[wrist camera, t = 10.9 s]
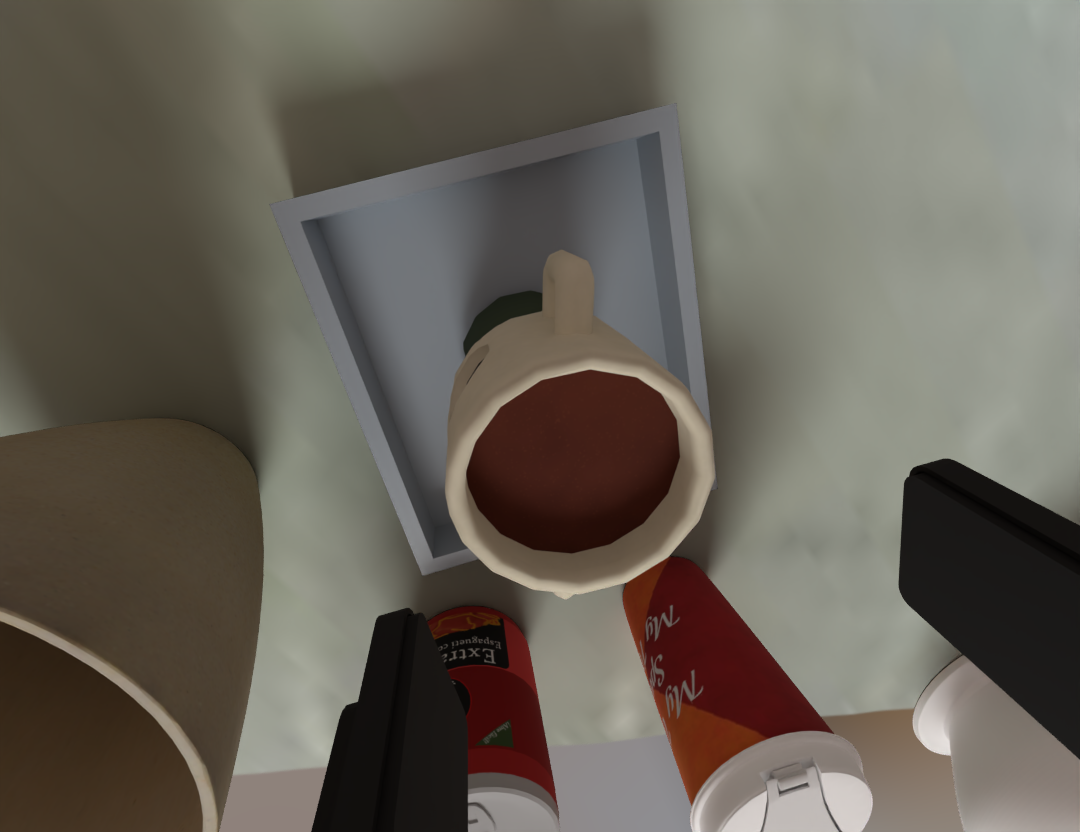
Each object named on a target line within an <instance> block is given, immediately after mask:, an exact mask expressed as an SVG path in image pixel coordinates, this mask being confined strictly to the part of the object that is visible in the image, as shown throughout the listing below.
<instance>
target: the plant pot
mask: <svg viewBox="0 0 1080 832" xmlns="http://www.w3.org/2000/svg"><path fill="white" fill-rule="evenodd" d="M263 563H264V545H263V523H262V511H261V502H260V494H259V489H258V483H257V479H256V476H255V473H254V471H253V469H252V466H251V465H250V463H249V461H248V460H247V458H246V457H245V456H244V455H243V453H242V452H241V451H240V450H239V449H238V448H237V447H236V446H235V445H234V444H232V443H231V442H230V441H229V440H228V439H226V438H225V437H223V436H222V435H221V434H219V433H217V432H215V431H213V430H211V429H209V428H207V427H204V426H202V425H199V424H196V423H194V422H190V421H185V420H179V419H171V418H149V419H129V420H117V421H105V422H96V423H86V424H78V425H71V426H64V427H57V428H50V429H44V430H38V431H33V432H27V433H21V434H15V435H9V436H5V437H0V832H219V829H220V825H221V821H222V816H223V812H224V808H225V804H226V799H227V795H228V791H229V787H230V783H231V778H232V774H233V770H234V765H235V761H236V756H237V751H238V747H239V742H240V737H241V733H242V728H243V724H244V719H245V714H246V709H247V704H248V698H249V693H250V688H251V682H252V675H253V669H254V663H255V656H256V648H257V640H258V632H259V624H260V613H261V603H262V589H263Z"/></svg>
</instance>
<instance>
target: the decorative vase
mask: <svg viewBox="0 0 1080 832" xmlns="http://www.w3.org/2000/svg"><path fill="white" fill-rule="evenodd" d="M913 729H914V732H915V734H916V736H917V738H918V739H919V740H920V741H921V742H922V744H923V745H924V746H925V747H926V748H928V749H929V750H931V751H933V752H935V753H938V754H943V755H951V759H952V760H951V761H952V768H953V777H954V784H955V791H956V798H957V803H958V809H959V814H960V818H961V822H962V826H963V829H964V832H1080V760H1079V759H1078V758H1077V757H1076V756H1075V755H1074V754H1073V753H1072V752H1071V751H1069V750H1068V749H1067V748H1066V747H1065V746H1064V745H1063V744H1062V743H1061V742H1059V741H1058V740H1057V739H1056V738H1055V737H1054V736H1053V735H1052V734H1051V733H1050V732H1048V731H1047V730H1046V729H1045V728H1044V727H1043V726H1042V725H1041V724H1040V723H1038V722H1037V721H1036V720H1035V719H1034V718H1033V717H1032V716H1031V715H1030V714H1028V713H1027V712H1026V711H1025V710H1024V709H1023V708H1022V707H1021V706H1020V705H1019V704H1017V703H1016V702H1015V701H1014V700H1013V699H1012V698H1011V697H1010V696H1009V695H1007V694H1006V693H1005V692H1004V691H1003V690H1002V689H1001V688H1000V687H999V686H997V685H996V684H995V683H994V682H993V681H992V680H991V679H990V678H989V677H988V676H986V675H985V674H984V673H983V672H982V671H981V670H980V669H979V668H978V667H976V666H975V665H974V664H973V663H972V662H971V661H970V660H969V659H968V658H966V657H965V656H964V655H963V656H961V657H959V658H958V659H956V660H955V661H954V662H952V663H951V664H950V665H948V666H947V667H946V668H945V669H943V670H942V671H941V672H940V673H939V674H938V675H937V676H936V677H935V678H934V679H933V680H932V681H931V683H930V684H929V685H928V686H927V688H926V689H925V690H924V692H923V693H922V695H921V697H920V698H919V700H918V702H917V705H916V707H915V710H914V714H913Z"/></svg>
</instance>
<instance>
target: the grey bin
mask: <svg viewBox="0 0 1080 832" xmlns="http://www.w3.org/2000/svg"><path fill="white" fill-rule="evenodd" d="M269 205H270V207H271V210H272V212H273V214H274V217H275V219H276V222H277V224H278V227H279V229H280V231H281V234H282V236H283V239H284V241H285V244H286V246H287V248H288V251H289V253H290V256H291V258H292V261H293V263H294V265H295V268H296V270H297V273H298V275H299V278H300V280H301V282H302V285H303V287H304V290H305V292H306V294H307V297H308V299H309V302H310V304H311V307H312V309H313V311H314V314H315V316H316V319H317V321H318V324H319V326H320V328H321V331H322V333H323V336H324V338H325V341H326V343H327V345H328V348H329V350H330V353H331V355H332V358H333V360H334V362H335V365H336V367H337V370H338V372H339V374H340V377H341V379H342V382H343V384H344V387H345V389H346V391H347V394H348V396H349V399H350V401H351V404H352V406H353V408H354V411H355V413H356V416H357V418H358V421H359V423H360V425H361V428H362V430H363V433H364V435H365V438H366V440H367V442H368V445H369V447H370V450H371V452H372V455H373V457H374V459H375V462H376V464H377V467H378V469H379V471H380V474H381V476H382V479H383V481H384V484H385V486H386V488H387V491H388V493H389V496H390V498H391V501H392V503H393V505H394V508H395V510H396V513H397V515H398V518H399V520H400V522H401V525H402V527H403V530H404V532H405V535H406V537H407V539H408V542H409V544H410V547H411V549H412V552H413V554H414V556H415V559H416V561H417V564H418V566H419V568H420V571H421V573H422V576H424V575H427V574H430V573H434V572H437V571H441V570H444V569H447V568H451V567H454V566H458V565H461V564H464V563H468V562H471V561H474V560H478V559H479V558H478V557H477V556H476V555H475V554H474V553H473V552H472V551H471V550H470V549H469V548H468V547H467V546H466V545H465V544H464V543H463V542H462V540H461V538H460V536H459V534H458V532H457V530H456V528H455V525H454V523H453V521H452V519H451V517H450V515H449V510H448V505H447V500H446V495H445V479H446V459H447V445H448V439H447V426H448V414H449V408H450V397H451V393H452V388H453V384H454V378H455V374H456V372H457V370H458V368H459V367H460V365H461V364H462V362H463V360H464V359H465V357H466V356H465V353H464V349H463V342H464V340H465V337H466V335H467V333H468V331H469V329H470V327H471V325H472V323H473V321H474V319H475V317H476V316H477V315H478V314H479V313H481V312H482V311H483V310H484V309H485V308H487V307H488V306H489V305H490V304H491V303H493V302H494V301H495V300H496V299H498V298H499V297H501V296H506V295H511V294H515V293H520V292H525V291H530V290H531V291H536V292H540V293H543V269H544V266H545V264H546V261H547V258H548V257H549V255H550V254H553V253H555V252H557V251H559V250H561V249H562V250H564V251H566V252H569V253H571V254H573V255H576V256H578V257H580V258H582V259H584V260H587V261H588V263H589V265H590V267H591V270H592V273H593V276H594V309H593V316H596V317H597V318H599V319H600V320H602V321H603V322H605V323H606V324H607V325H609V326H610V327H612V328H613V329H615V330H616V331H618V332H619V333H620V334H622V335H623V336H625V337H626V338H627V339H629V340H630V341H631V342H632V343H634V344H635V345H636V346H637V347H639V348H640V349H641V350H642V351H644V352H645V353H646V354H647V355H649V356H650V357H651V358H652V359H654V360H655V361H656V362H657V363H659V364H660V365H661V366H662V367H664V368H665V369H666V370H667V371H669V372H670V373H671V374H672V375H674V376H675V377H676V378H677V379H679V380H680V381H681V382H682V383H683V384H684V385H685V387H686V388H687V389H688V390H689V392H690V394H691V395H692V397H693V399H694V400H695V402H696V404H697V406H698V407H699V409H700V411H701V413H702V414H703V416H704V418H705V420H706V421H707V423H708V425H709V427H710V428H711V421H710V412H709V402H708V393H707V384H706V375H705V365H704V356H703V347H702V337H701V328H700V319H699V309H698V300H697V291H696V281H695V272H694V263H693V254H692V244H691V235H690V226H689V216H688V207H687V198H686V188H685V179H684V170H683V160H682V151H681V142H680V133H679V123H678V114H677V105H676V103H674V104H670V105H666V106H662V107H658V108H654V109H650V110H646V111H642V112H638V113H634V114H630V115H625V116H621V117H617V118H613V119H609V120H605V121H601V122H597V123H593V124H589V125H585V126H581V127H577V128H573V129H569V130H565V131H561V132H557V133H553V134H549V135H545V136H541V137H537V138H533V139H529V140H525V141H521V142H517V143H513V144H509V145H505V146H501V147H497V148H493V149H489V150H485V151H481V152H477V153H473V154H469V155H465V156H461V157H457V158H453V159H449V160H445V161H441V162H437V163H433V164H429V165H425V166H421V167H417V168H413V169H409V170H405V171H401V172H397V173H393V174H389V175H385V176H381V177H377V178H373V179H369V180H365V181H361V182H357V183H353V184H348V185H344V186H340V187H336V188H332V189H328V190H324V191H320V192H316V193H312V194H308V195H304V196H300V197H296V198H292V199H288V200H284V201H280V202H276V203H272V204H269ZM713 450H714V449H713ZM714 464H715V458H714ZM715 489H718V486H717V477H716V468H715V480H714V482H713V485H712V488H711V490H710V491H712V490H715Z"/></svg>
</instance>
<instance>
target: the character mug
mask: <svg viewBox="0 0 1080 832" xmlns="http://www.w3.org/2000/svg"><path fill="white" fill-rule="evenodd" d="M593 309H594V276H593V273H592V270H591V267H590V265H589V263H588V261H587V260H584V259H582V258H580V257H578V256H576V255H573V254H571V253H569V252H566V251H564V250H562V249H561V250H559V251H557V252H555V253H553V254H550V255H549V257H548V258H547V261H546V264H545V266H544V269H543V293H540V292H536V291H531V290H530V291H525V292H520V293H515V294H511V295H506V296H501V297H499V298H498V299H496V300H495V301H494V302H493V303H491V304H490V305H489V306H488V307H487V308H485V309H484V310H483V311H482V312H481V313H479V314H478V315H477V316H476V317H475V319H474V321H473V323H472V325H471V327H470V329H469V331H468V333H467V335H466V337H465V340H464V342H463V349H464V353H465V356H466V357H465V359H464V360H463V362H462V364H461V365H460V367H459V368H458V370H457V372H456V374H455V378H454V384H453V388H452V393H451V397H450V408H449V414H448V426H447V439H448V445H447V459H446V479H445V495H446V500H447V505H448V510H449V515H450V517H451V519H452V521H453V523H454V525H455V528H456V530H457V532H458V534H459V536H460V538H461V540H462V542H463V543H464V544H465V545H466V546H467V547H468V548H469V549H470V550H471V551H472V552H473V553H474V554H475V555H476V556H477V557H478V558H479V559H480V560H481V561H482V562H483V563H484V564H485V565H486V566H487V567H488V568H489V569H490V570H491V571H492V572H495V573H497V574H499V575H501V576H504V577H506V578H508V579H510V580H512V581H515V582H517V583H519V584H521V585H524V586H526V587H528V588H530V589H533V590H541V591H551V592H554V594H555V595H556V596H559V597H561V598H563V599H565V600H566V599H568V598H569V597H571V596H572V595H574V594H583V593H587V592H591V591H595V590H599V589H603V588H607V587H611V586H615V585H619V584H623V583H627V582H628V581H630V580H632V579H633V578H635V577H637V576H638V575H640V574H642V573H643V572H645V571H646V570H648V569H650V568H651V567H653V566H655V565H656V564H658V563H660V562H661V561H663V560H664V559H666V558H668V557H669V556H670V554H671V553H672V552H673V551H674V550H675V549H676V547H677V546H678V545H679V544H680V543H681V542H682V540H683V539H684V538H685V537H686V536H687V535H688V533H689V532H690V531H691V530H692V529H693V528H694V526H695V525H696V524H697V523H698V522H699V520H700V517H701V515H702V512H703V509H704V507H705V504H706V501H707V498H708V496H709V493H710V490H711V488H712V485H713V482H714V480H715V464H714V450H713V435H712V430H711V428H710V427H709V425H708V423H707V421H706V420H705V418H704V416H703V414H702V413H701V411H700V409H699V407H698V406H697V404H696V402H695V400H694V399H693V397H692V395H691V394H690V392H689V390H688V389H687V388H686V387H685V385H684V384H683V383H682V382H681V381H680V380H679V379H677V378H676V377H675V376H674V375H672V374H671V373H670V372H669V371H667V370H666V369H665V368H664V367H662V366H661V365H660V364H659V363H657V362H656V361H655V360H654V359H652V358H651V357H650V356H649V355H647V354H646V353H645V352H644V351H642V350H641V349H640V348H639V347H637V346H636V345H635V344H634V343H632V342H631V341H630V340H629V339H627V338H626V337H625V336H623V335H622V334H620V333H619V332H618V331H616V330H615V329H613V328H612V327H610V326H609V325H607V324H606V323H605V322H603V321H602V320H600V319H599V318H597V317H596V316H593Z"/></svg>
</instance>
